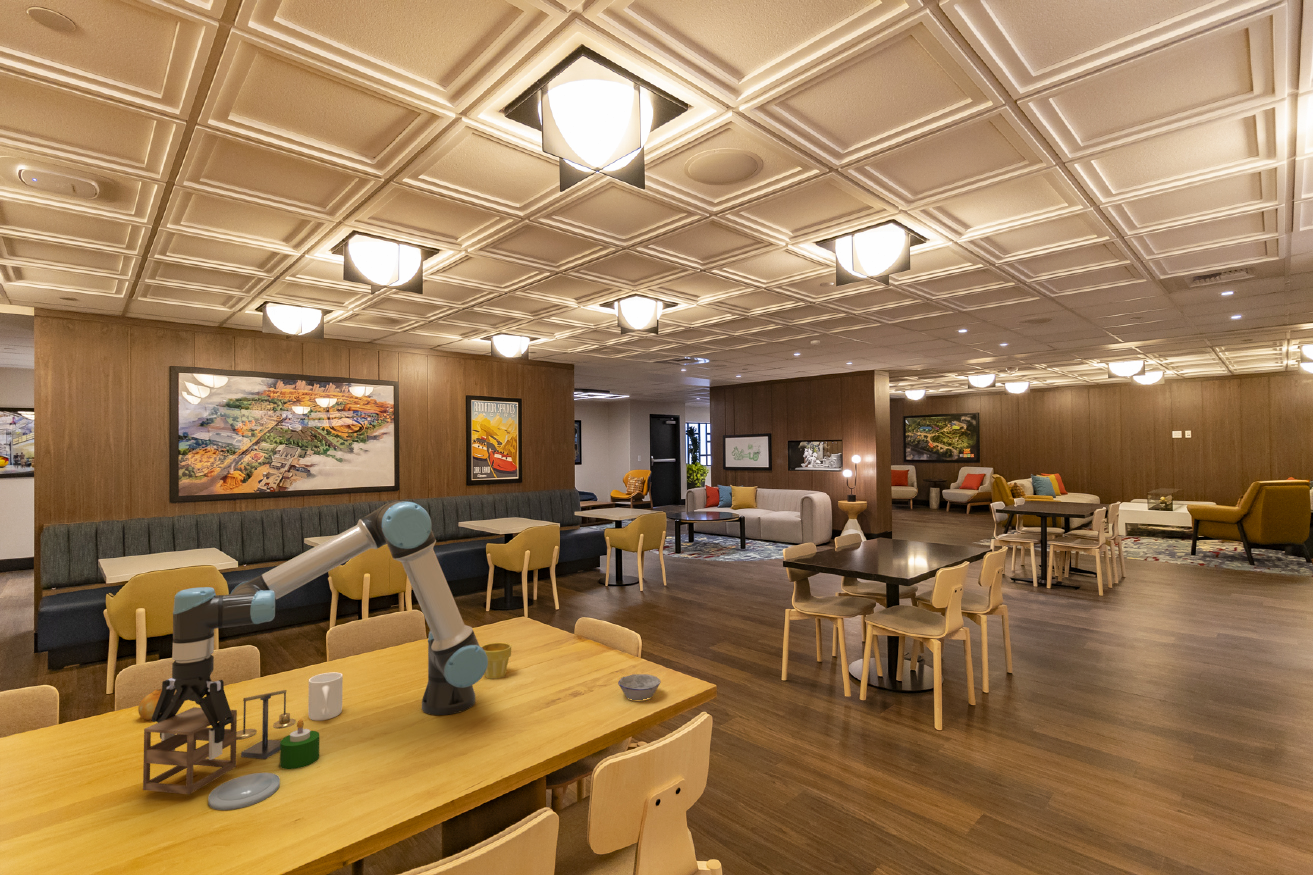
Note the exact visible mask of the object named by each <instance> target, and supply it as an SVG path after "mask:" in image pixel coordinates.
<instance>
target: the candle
mask: <svg viewBox="0 0 1313 875" xmlns="http://www.w3.org/2000/svg"><path fill="white" fill-rule="evenodd" d="M304 724H305V723H304V720H303V719H302V718H299V719H298V721H297V723H296V727H297V729H296V730H294V731H292V732H290V734H288V735H286V736H285V737H283V738H282V739H280V740H279V741H280V751H279V766H280V768H281V769H283V770H297V769H302V768H305V767H309V766H310V765H312V764H314V763H316V762H318V760H319V759H320V732H319V731H316V730H311V729H310V728H309V729H308V728H304Z"/></svg>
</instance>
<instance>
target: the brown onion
mask: <svg viewBox="0 0 1313 875" xmlns="http://www.w3.org/2000/svg"><path fill="white" fill-rule="evenodd" d="M161 692H162V688H157V689H155V690H153V691H152V692H151V693H149V694H147V695H146V696H144V697H143V698H142V700H141V701H140V702H139V704H138V708H137V712H138V714H139V716H140V717H141V718H142V719H144V720H146V721H147V720H148V721H152V720H151V719H152V716H153V713H154V710H155V708H156V705H157V702H158V700H159V697H160V694H161Z"/></svg>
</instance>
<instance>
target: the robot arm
mask: <svg viewBox="0 0 1313 875" xmlns="http://www.w3.org/2000/svg"><path fill="white" fill-rule="evenodd" d="M432 525H433V524H432V519H431V517H430V514H429V513H428V511H427V510H426V509H425V508H423V507H422V506H421V505H420V504H418V503H415V502H412V501H406V500H392V501H390V502H387V503H385V504H383V505H382V506H380V507H379V508H378V509H376V510H373V511H372V512H371V513H369V514H368V515H366V516H363V517H362V518H360V519H358V522H357V524H356V525H354V526H352V527H350V528H348V529H347V530H344V531H343V532H341V533H339V534H337V535H334V536H333V537H331V538H330V539H328V540H326V541H324V542H322V543H320V544H317V545H316V546H314V547H312V548H310V549H308V550H306V551H305V552H303V553H300V554H299V555H297V556H295V557H293V558H292V559H289V560H288V561H285V562H283V563H281V564H279V565H278V566H276V567H274V568H272V569H270V570H269V571H266V572H264V573H262V574H261V575H258V576H257V577H255V578H253V579H251V580H248V581H243V582H241V583H239V584H238V585H236V586H235V587H234V589H232V591H231V592H230V594H221V595H220V594H216V591H215V589H214V587H209V586H205V587H200V586H199V587H192V588H186V589H182V590H179V591H178V592H177V593H176V594H175V595H174V600H173V611H172V655H171V657H172V658H171V659H172V660H173V661H172V663H171V664H172V668H171V669H172V671H171V678H168V679H165V680H163V681H162V683H161V685H162V686H161V689H162V692H161V694H160V697H159V700H158V702H157V705H156V708H155V710H154V713H153V716H152V719H151V720H150V721H151V722H152V723H155V722H156V723H159V722H161V721H163V720H166V719H168V718H171V717H173V716H175V715H177V714H178V712H179V711H180V709H181V707H182V706H183V704H185V702H186V701H190V702H195V704H196V705H199V708H202V710H203V712H204V714H205V715H206V717H207V719H208V721H209V722H210V724H211V725H210V726H211V727H210V728H211V729H210V730H209V741H208V743H209V757H208V759H209V760H212V759H216V758H217V757H219V756H221V755H222V754H223V749H222V741H223V740H224V732H225V729H226V728H225V727H226V726H227V725H229V724H230V725H231V723H232V722H233V716H232V713H231V710H232V709H231V708H230V705H229V702H228V699H227V695H226V692H225V690H224V689H225V688H224V687H225V682H224V680H223V679H219V680H216V681H212V679H211V675H212V673H213V671H214V670H215V669H214V664H215V663H214V662H215V659H214V658H215V657H214V655H212V654H214V651H215V649H214V648H215V646H214V645H215V644H214V643H215V629H223V628H233V627H240V626H247V625H248V626H249V625H259V624H263V623H267V622H268V623H269V622H272V621H273V620H274V619H275V616H276V600H278V599H280V598H282V597H284V596H285V595H288V594H289V593H291V592H293V591H295V590H296V589H298V588H300V587H303V586H304V585H306V584H309V583H310V582H311V581H313V580H315V579H317V578H318V577H320V576H322V575H324V574H326V573H328V572H330V571H331V570H333V569H335V568H337V567H339V566H340V565H343V564H344V563H346V562H347V561H350V560H352V559H354V558H355V557H358V556H359V555H361V554H362V553H365V552H366V551H368V550H370V549H374V550H377V549H379V548H381V547H383V546H385V545H387V548H388V549H389V553H390V555H391V557H392V559H393V560H395V561H398V562H400V563H401V564H402V567H403V569H404V572H405V574H406V576H407V579H408V581H409V584H410V586H411V587H412V590H413V593H414V596H415V598H416V600H417V602H418V605H419V606H420V609H421V612H422V614H423V616H424V619H425V621H426V623H427V626H428V628H429V632H428V640H427V646H428V647H427V648H428V650H427V654H428V655H427V658H428V659H427V660H428V661H427V666H428V667H427V670H428V672H427V674H428V676H427V678H428V679H427V684H426V687H425V690H424V693H423V695H422V696H423V697H422V700H421V710H422V712H423V713H425V714H428V715H431V716H432V715H433V716H445V715H453V714H454V715H455V714H457V713H461V712H464V711H467V710H468V709H471V708H472V707H473V706H474V705H475V703H476V693H475V689H474V687H473V685H475V684H477V683H478V682H480V680H481V679H482V678H483V677H484V676H485V671H486V669H487V665H488V658H487V655H486V652H485V651H484V650H483V648H481V646H480V644H479V641H478V639H477V636H476V635H475V632H474V629H473V627H472V626H469V625H467V624H465V622H464V620H463V617H462V615H461V613H460V610H459V608H458V605H457V603H456V601H455V599H454V596H453V593H452V591H451V589H450V586H449V584H448V582H447V579H446V577H445V574H444V572H443V570H442V567H441V565H440V563H439V559H438V557H437V555H436V553H435V550H434V548H435V544H436V542H437V540H436V537H435V534H434V532H433V529H432ZM217 720H218V722H217ZM174 735H176V734H169V733H159V738H160V740H161V741H164V740H166V739H168V738H170V737H172V736H174ZM161 741H160V742H161ZM172 751H176V748H175V749H173V750H172Z"/></svg>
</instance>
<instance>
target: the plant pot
mask: <svg viewBox="0 0 1313 875" xmlns="http://www.w3.org/2000/svg"><path fill="white" fill-rule="evenodd" d="M480 647H481V648H483V650H484V651H485V652H486V655H487V658H488V665H487V669H486V671H485V673H484V676H485V678H486V679H488V680H489V679H490V680H495V679H501V678H504V677H505V676H506V673H507V668H508V663H509V661H510V660H509V659H510V658H511V656H512V645H511V644H510V643H509V642H508V643H507V642H499V641H498V642H490V643H486V644H483V645H481V646H480Z"/></svg>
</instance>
